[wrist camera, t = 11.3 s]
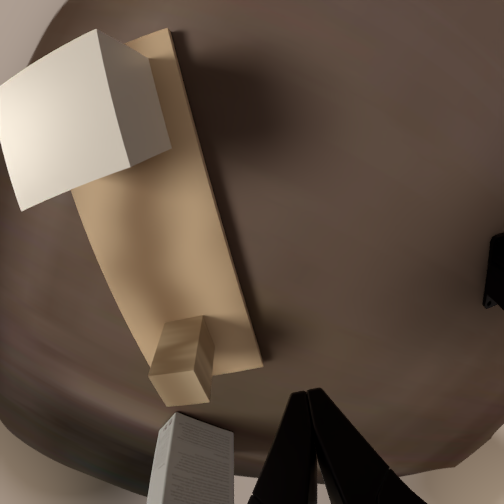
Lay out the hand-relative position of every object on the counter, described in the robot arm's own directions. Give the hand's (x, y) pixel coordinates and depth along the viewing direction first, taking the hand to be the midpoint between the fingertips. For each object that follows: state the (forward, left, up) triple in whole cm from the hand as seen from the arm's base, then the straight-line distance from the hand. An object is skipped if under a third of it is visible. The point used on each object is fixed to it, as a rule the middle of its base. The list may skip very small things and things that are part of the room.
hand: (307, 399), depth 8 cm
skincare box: (+11, +17, -12) cm, 23 cm away
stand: (+7, -2, -12) cm, 14 cm away
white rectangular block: (+6, -9, -11) cm, 16 cm away
